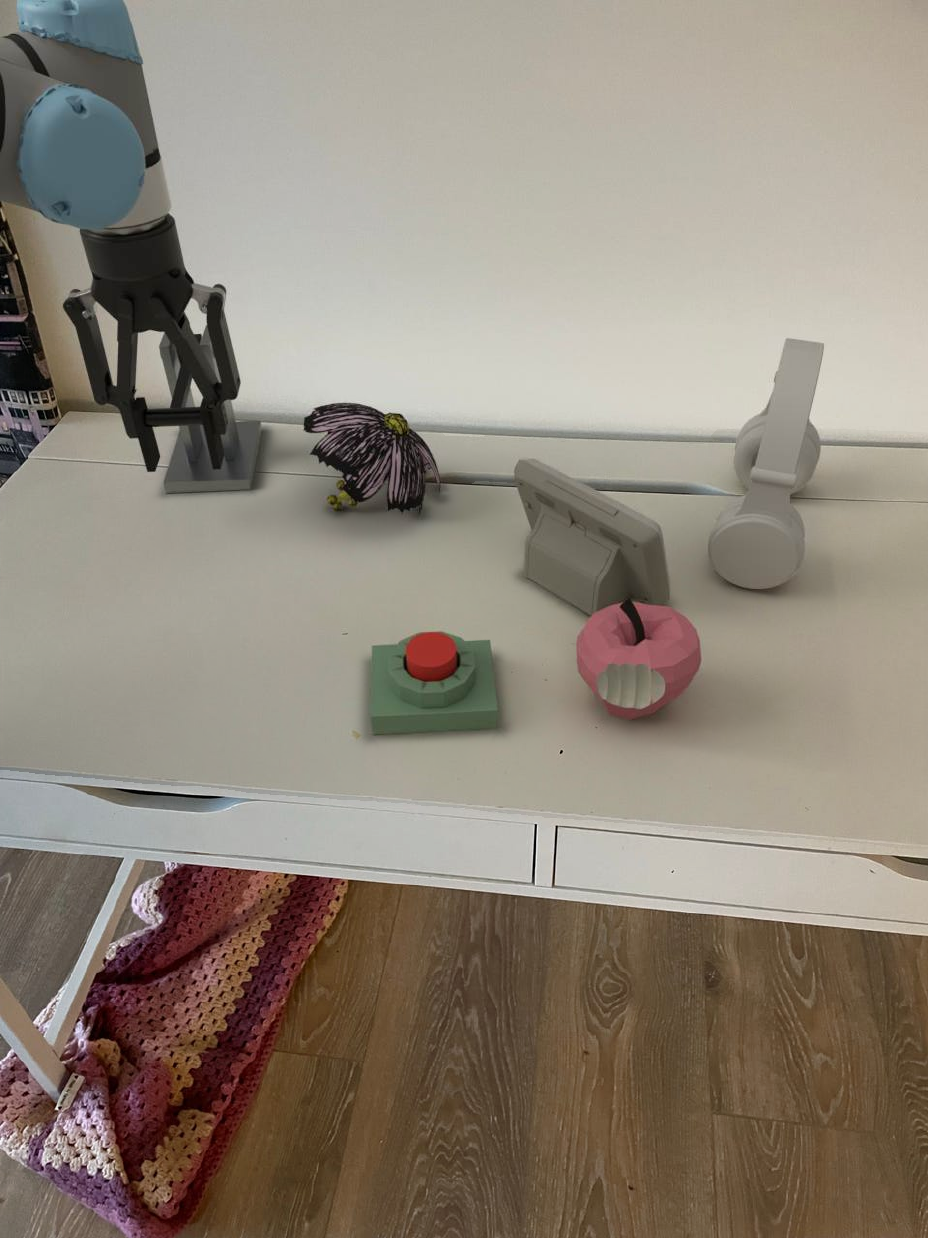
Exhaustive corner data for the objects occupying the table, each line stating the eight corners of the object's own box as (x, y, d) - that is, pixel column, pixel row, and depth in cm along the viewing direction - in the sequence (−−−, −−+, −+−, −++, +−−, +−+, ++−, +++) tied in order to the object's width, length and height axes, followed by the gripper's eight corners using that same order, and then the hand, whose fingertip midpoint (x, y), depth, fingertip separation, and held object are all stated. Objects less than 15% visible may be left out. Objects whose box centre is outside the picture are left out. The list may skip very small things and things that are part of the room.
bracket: (250, 489, 100) (224, 361, 90) (165, 493, 100) (130, 365, 90) (262, 430, 109) (239, 307, 99) (184, 433, 108) (153, 310, 98)
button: (407, 683, 74) (406, 668, 72) (406, 648, 77) (405, 632, 75) (458, 681, 74) (457, 665, 73) (455, 645, 77) (455, 630, 76)
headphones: (730, 469, 101) (767, 296, 88) (810, 483, 99) (860, 308, 86) (698, 582, 88) (736, 397, 74) (791, 602, 85) (847, 415, 72)
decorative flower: (452, 457, 86) (296, 402, 85) (416, 566, 91) (269, 516, 91) (467, 416, 99) (332, 369, 98) (434, 514, 104) (306, 470, 103)
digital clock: (679, 608, 85) (697, 513, 78) (601, 647, 81) (612, 551, 74) (568, 519, 95) (575, 428, 88) (495, 551, 92) (496, 458, 84)
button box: (372, 735, 75) (368, 701, 72) (373, 663, 80) (370, 629, 78) (497, 728, 75) (498, 694, 72) (490, 657, 81) (490, 623, 78)
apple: (559, 727, 75) (567, 637, 68) (584, 654, 81) (593, 565, 74) (680, 756, 73) (700, 666, 66) (696, 679, 79) (716, 588, 72)
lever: (206, 431, 88) (200, 410, 87) (147, 433, 88) (140, 412, 86) (222, 353, 97) (217, 332, 95) (169, 355, 97) (163, 334, 95)
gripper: (246, 198, 79) (285, 438, 94) (22, 205, 78) (99, 446, 94) (235, 231, 73) (278, 480, 89) (-6, 238, 73) (80, 488, 88)
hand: (186, 462), depth 91 cm, fingers closed on lever, 5 cm apart
